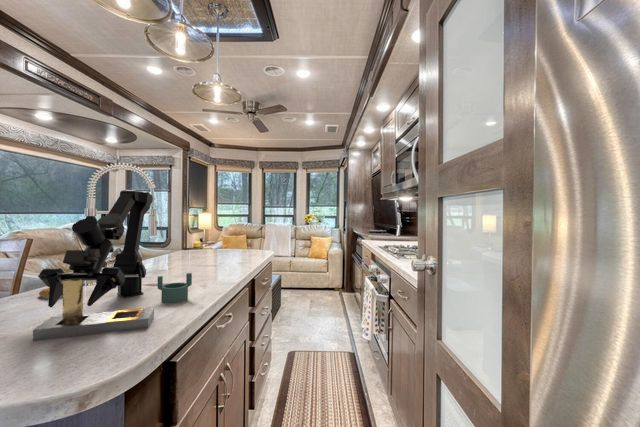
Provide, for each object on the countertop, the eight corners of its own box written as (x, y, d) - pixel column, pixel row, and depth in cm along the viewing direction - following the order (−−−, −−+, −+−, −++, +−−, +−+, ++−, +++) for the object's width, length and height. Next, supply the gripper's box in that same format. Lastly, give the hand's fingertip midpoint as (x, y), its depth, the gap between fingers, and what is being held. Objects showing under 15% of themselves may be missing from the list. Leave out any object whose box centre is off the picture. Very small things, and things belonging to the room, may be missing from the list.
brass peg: (79, 325, 79) (80, 277, 79) (84, 329, 77) (85, 279, 77) (60, 330, 76) (60, 280, 76) (64, 334, 74) (65, 282, 74)
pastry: (32, 298, 103) (32, 287, 103) (52, 293, 109) (53, 283, 109) (54, 300, 101) (54, 289, 101) (74, 295, 107) (74, 284, 107)
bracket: (193, 297, 107) (193, 272, 107) (175, 305, 98) (175, 278, 98) (172, 295, 109) (172, 271, 109) (152, 302, 100) (153, 276, 100)
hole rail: (32, 340, 70) (32, 329, 70) (51, 326, 79) (51, 316, 78) (148, 328, 79) (148, 317, 78) (154, 316, 87) (154, 307, 87)
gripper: (43, 238, 79) (7, 290, 68) (120, 238, 82) (97, 288, 71) (63, 262, 86) (33, 313, 76) (133, 261, 90) (114, 310, 79)
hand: (69, 306), depth 75 cm, fingers open, 8 cm apart
